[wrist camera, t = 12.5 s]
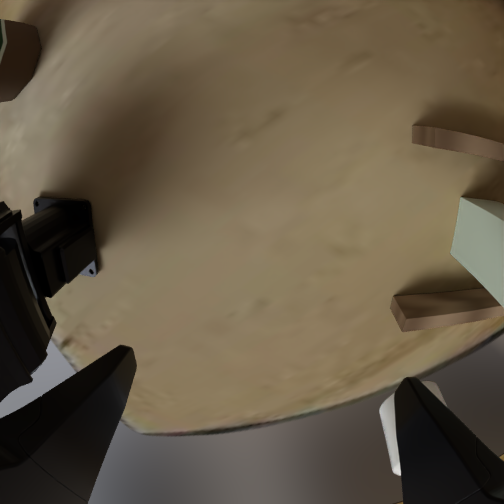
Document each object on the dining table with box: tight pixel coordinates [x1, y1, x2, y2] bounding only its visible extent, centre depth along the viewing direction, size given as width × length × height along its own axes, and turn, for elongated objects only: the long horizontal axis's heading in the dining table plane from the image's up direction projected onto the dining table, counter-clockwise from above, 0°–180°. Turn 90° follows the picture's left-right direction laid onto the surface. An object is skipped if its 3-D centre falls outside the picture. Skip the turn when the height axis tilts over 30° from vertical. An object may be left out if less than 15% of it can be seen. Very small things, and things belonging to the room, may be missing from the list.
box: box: [390, 126, 504, 332], centre depth 16 cm, size 14×14×3 cm
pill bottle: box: [379, 381, 447, 476], centre depth 21 cm, size 8×8×11 cm
